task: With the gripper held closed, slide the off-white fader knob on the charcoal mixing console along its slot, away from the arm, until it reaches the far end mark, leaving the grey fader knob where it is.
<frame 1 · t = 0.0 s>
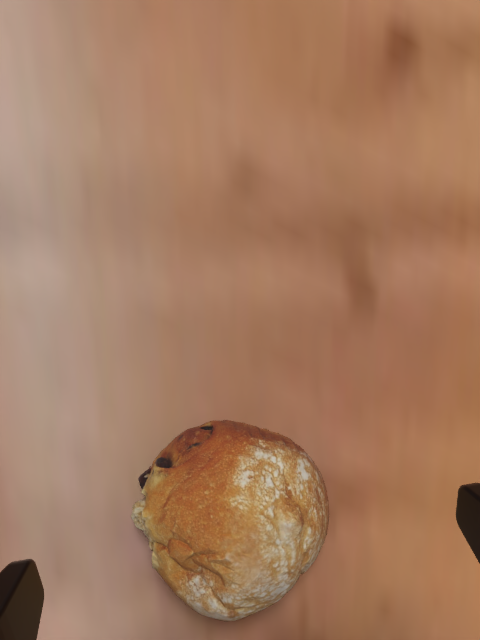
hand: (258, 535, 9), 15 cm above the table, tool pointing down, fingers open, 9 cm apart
bread roll: (226, 493, 25), on the table
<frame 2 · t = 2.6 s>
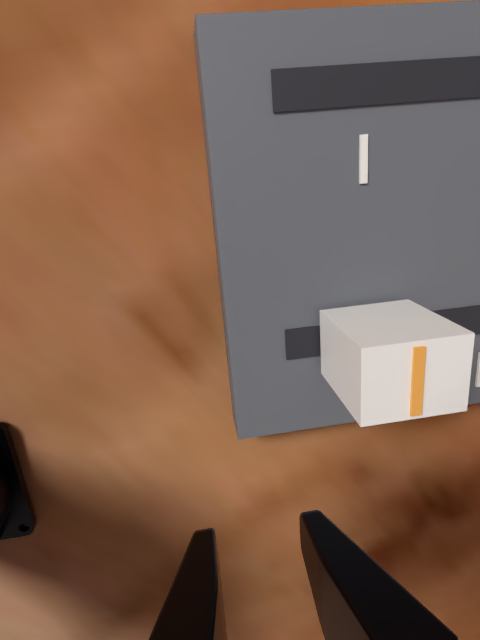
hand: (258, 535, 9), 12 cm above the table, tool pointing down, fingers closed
fader a: (387, 356, 16), point 5 cm above the table, slide at 0.0 cm
console: (465, 226, 20), on the table
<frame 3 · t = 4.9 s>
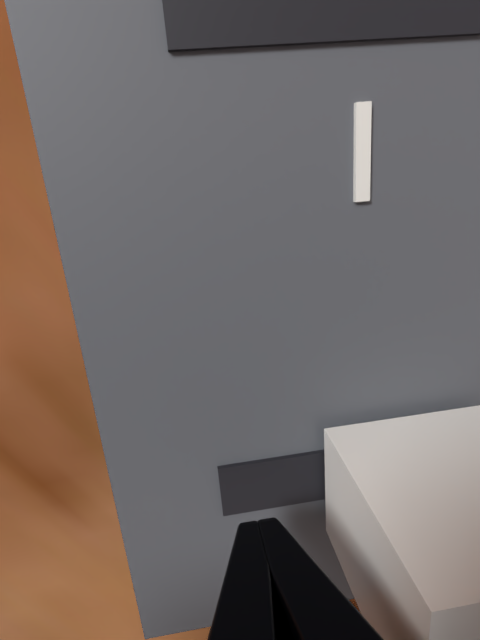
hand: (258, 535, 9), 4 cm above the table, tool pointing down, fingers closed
fader a: (460, 542, 8), point 5 cm above the table, slide at 1.1 cm, touching gripper
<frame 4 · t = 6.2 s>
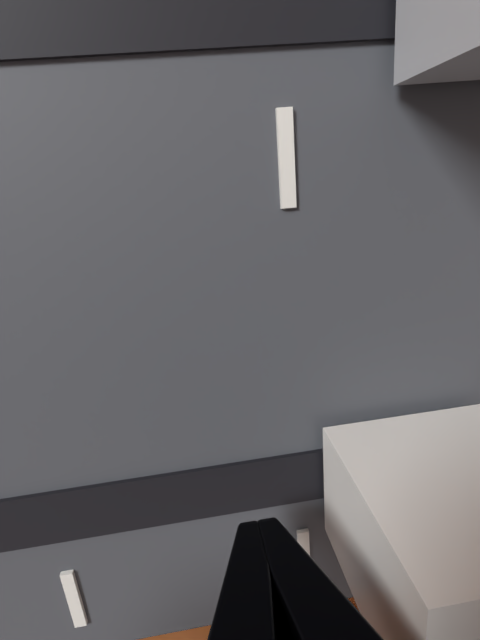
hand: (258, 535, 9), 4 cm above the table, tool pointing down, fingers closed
fader a: (458, 541, 8), point 5 cm above the table, slide at 8.5 cm, touching gripper
console: (273, 301, 11), on the table
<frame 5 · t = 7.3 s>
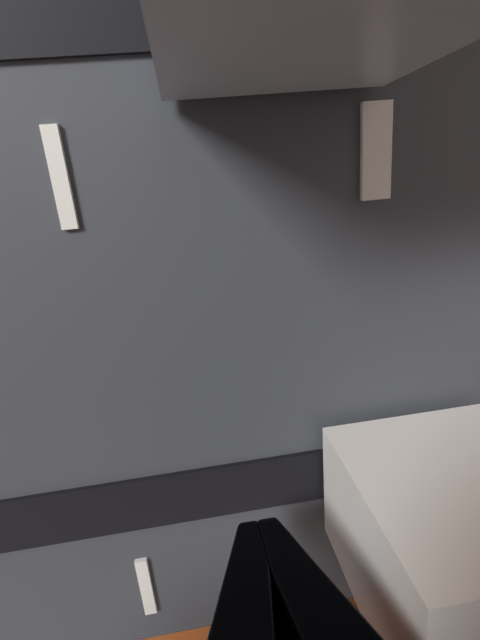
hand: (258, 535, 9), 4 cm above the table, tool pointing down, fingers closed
fader a: (458, 541, 8), point 5 cm above the table, slide at 12.7 cm, touching gripper
console: (111, 320, 11), on the table
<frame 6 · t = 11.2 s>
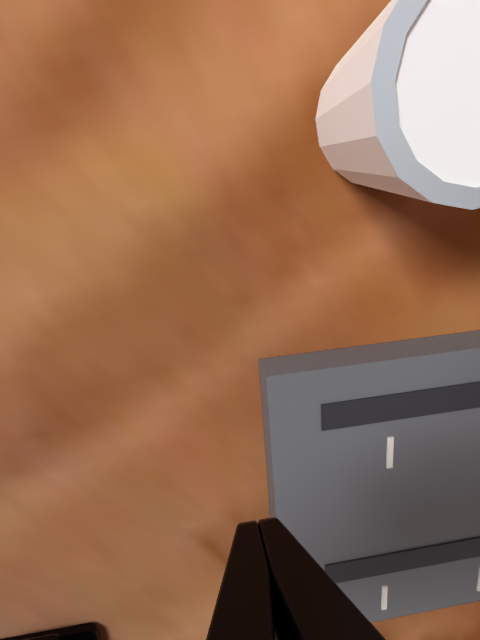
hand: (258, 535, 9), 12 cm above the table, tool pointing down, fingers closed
console: (468, 464, 25), on the table
white cup: (376, 118, 18), on the table
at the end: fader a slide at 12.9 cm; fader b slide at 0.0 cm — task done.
